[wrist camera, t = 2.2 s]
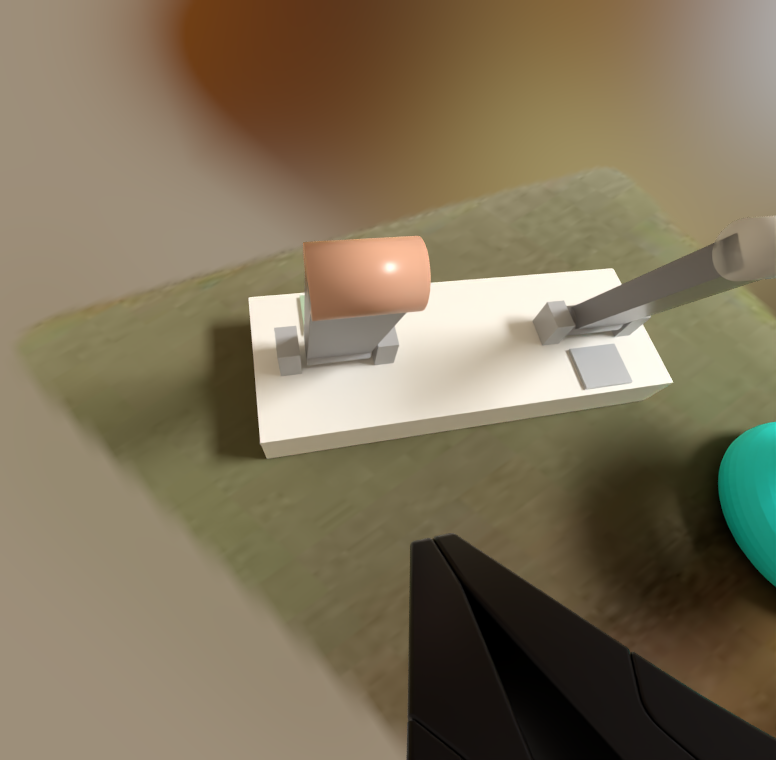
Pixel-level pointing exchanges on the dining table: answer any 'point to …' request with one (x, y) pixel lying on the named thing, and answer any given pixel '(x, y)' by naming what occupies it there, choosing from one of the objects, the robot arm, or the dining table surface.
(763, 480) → the teal curved piece
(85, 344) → the dining table surface
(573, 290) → the switch unit
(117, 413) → the dining table surface
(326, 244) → the terracotta lever
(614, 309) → the grey lever
